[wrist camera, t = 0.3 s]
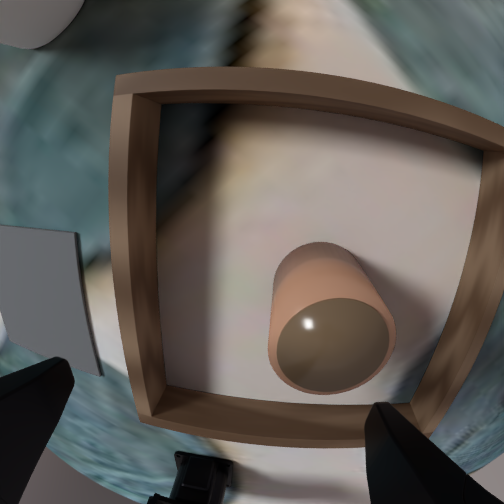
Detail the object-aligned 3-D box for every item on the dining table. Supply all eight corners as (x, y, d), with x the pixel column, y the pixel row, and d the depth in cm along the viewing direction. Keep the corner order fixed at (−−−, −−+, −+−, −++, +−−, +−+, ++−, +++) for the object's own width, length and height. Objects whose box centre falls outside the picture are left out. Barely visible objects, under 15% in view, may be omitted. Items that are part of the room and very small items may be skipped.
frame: (415, 410, 22) (427, 440, 18) (155, 391, 24) (140, 421, 20) (495, 139, 15) (530, 140, 11) (146, 88, 16) (116, 75, 13)
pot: (352, 327, 20) (375, 397, 13) (268, 320, 20) (261, 393, 14) (370, 247, 18) (413, 296, 11) (278, 237, 19) (275, 284, 12)
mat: (101, 374, 24) (100, 376, 24) (11, 339, 25) (10, 340, 25) (76, 232, 20) (74, 233, 20) (-15, 223, 21) (-17, 223, 21)
